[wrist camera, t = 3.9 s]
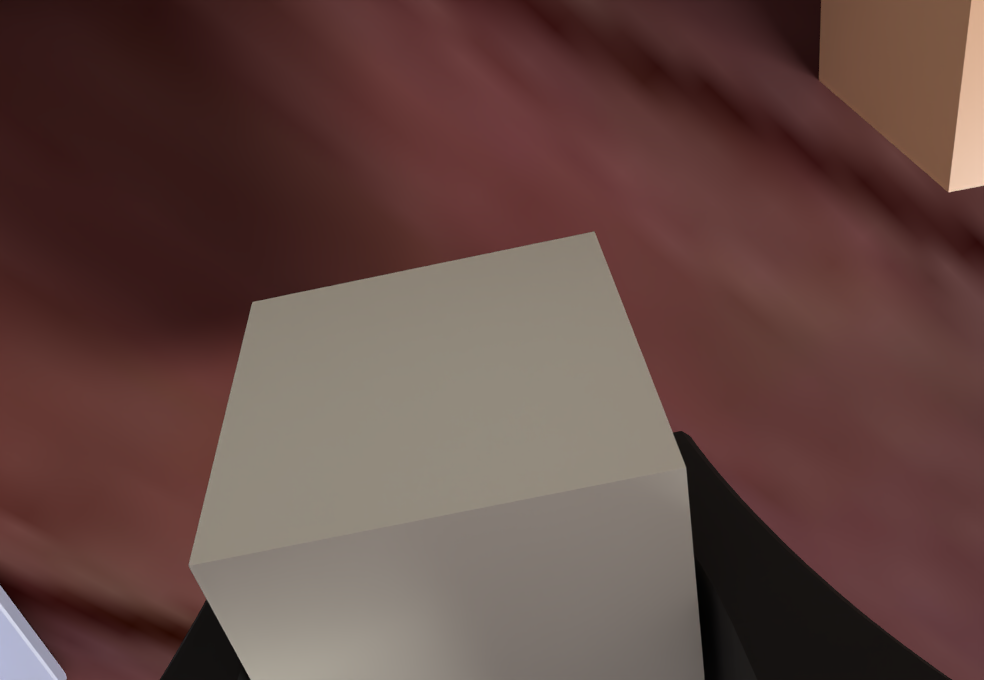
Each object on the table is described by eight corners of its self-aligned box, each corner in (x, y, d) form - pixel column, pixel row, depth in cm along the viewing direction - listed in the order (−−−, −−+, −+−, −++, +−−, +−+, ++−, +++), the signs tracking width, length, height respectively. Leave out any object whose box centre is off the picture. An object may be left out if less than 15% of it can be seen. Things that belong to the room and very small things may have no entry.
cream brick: (378, 621, 16) (372, 904, 12) (252, 302, 12) (188, 566, 8) (640, 570, 16) (718, 840, 12) (594, 231, 12) (685, 467, 8)
